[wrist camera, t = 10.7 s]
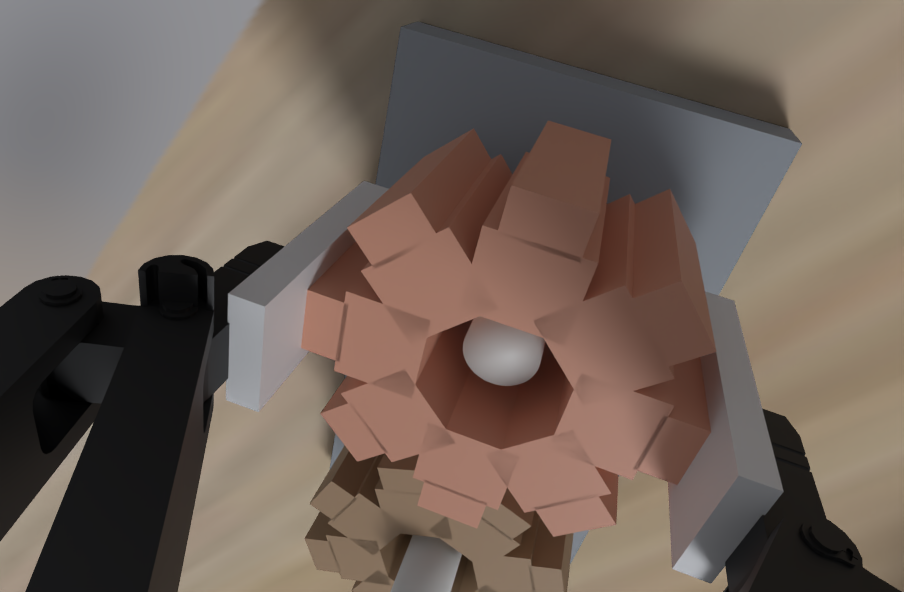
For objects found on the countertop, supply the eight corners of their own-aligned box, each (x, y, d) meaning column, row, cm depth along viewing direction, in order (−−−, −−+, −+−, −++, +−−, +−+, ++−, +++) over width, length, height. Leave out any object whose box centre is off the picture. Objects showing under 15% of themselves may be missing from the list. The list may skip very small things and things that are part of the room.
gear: (362, 349, 20) (287, 455, 16) (411, 79, 15) (323, 125, 11) (622, 443, 19) (617, 583, 15) (759, 184, 14) (810, 280, 10)
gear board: (417, 21, 18) (284, 64, 11) (790, 128, 17) (889, 249, 10) (339, 469, 29) (247, 628, 22) (563, 554, 27) (537, 750, 21)
